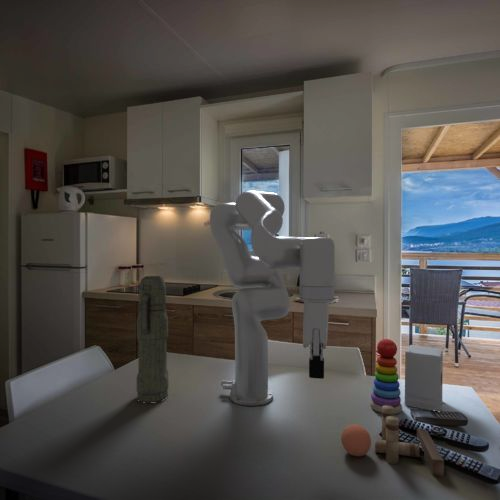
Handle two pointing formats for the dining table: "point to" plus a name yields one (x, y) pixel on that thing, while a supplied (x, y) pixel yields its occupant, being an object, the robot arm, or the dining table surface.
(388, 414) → the pin
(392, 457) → the pin
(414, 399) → the supplement box
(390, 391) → the stacking toy
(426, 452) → the wall
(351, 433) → the ball
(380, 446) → the pin front
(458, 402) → the dining table surface
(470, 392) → the dining table surface
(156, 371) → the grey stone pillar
